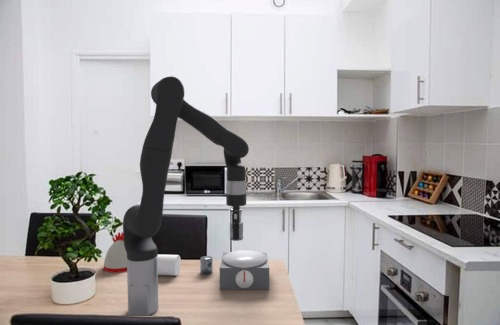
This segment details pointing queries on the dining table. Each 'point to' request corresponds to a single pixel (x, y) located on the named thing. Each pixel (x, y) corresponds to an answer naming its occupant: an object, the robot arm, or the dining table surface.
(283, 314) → the dining table surface
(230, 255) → the scale
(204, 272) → the cylinder
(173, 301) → the dining table surface
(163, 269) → the mug
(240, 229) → the cylinder
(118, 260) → the kitchen timer
